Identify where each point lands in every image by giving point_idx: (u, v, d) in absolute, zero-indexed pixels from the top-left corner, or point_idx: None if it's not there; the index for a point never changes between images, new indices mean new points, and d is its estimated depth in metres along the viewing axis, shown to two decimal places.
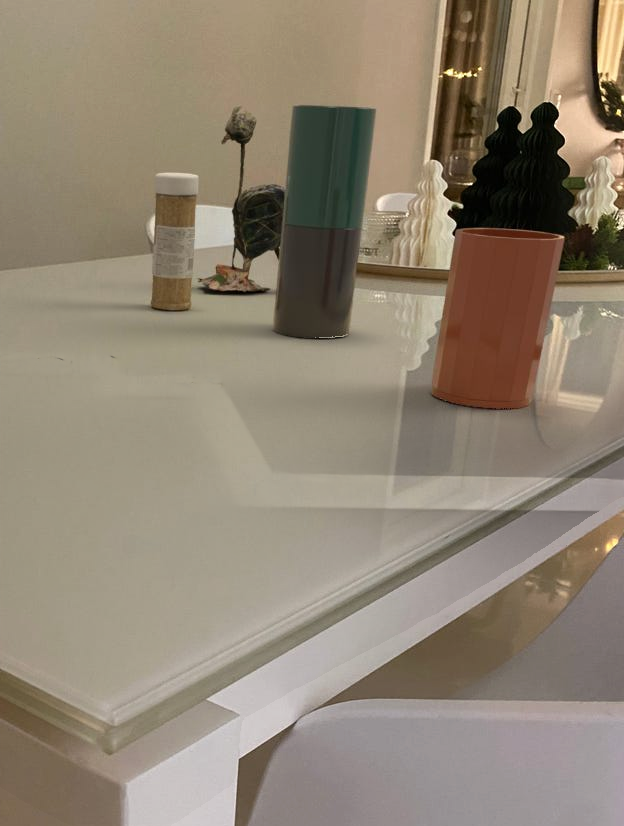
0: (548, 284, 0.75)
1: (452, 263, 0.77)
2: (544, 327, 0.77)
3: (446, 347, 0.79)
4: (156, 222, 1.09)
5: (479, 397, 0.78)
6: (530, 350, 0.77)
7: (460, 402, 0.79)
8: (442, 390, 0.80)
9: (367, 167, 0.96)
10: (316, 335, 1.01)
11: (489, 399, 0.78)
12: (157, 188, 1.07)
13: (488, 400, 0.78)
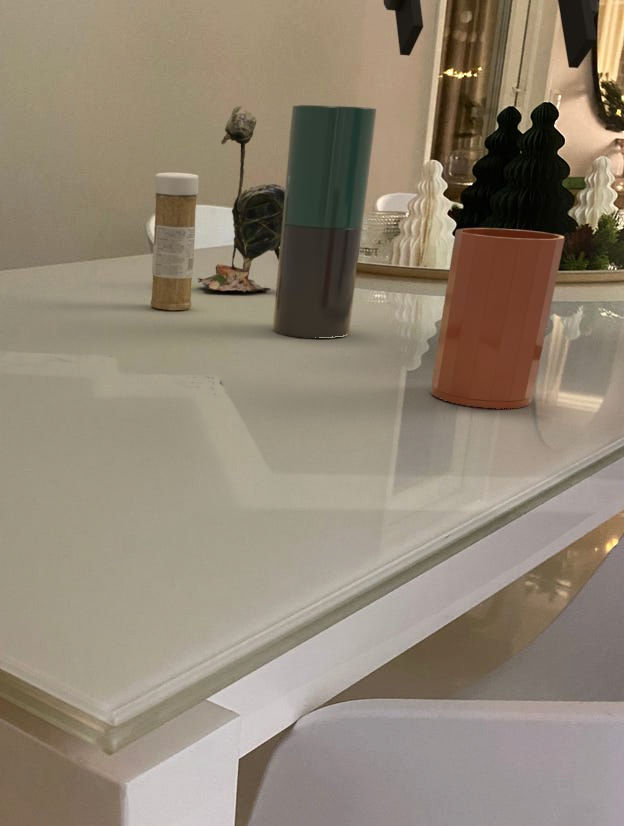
0: (548, 284, 0.75)
1: (452, 263, 0.77)
2: (544, 327, 0.77)
3: (446, 347, 0.79)
4: (156, 222, 1.09)
5: (479, 397, 0.78)
6: (530, 350, 0.77)
7: (460, 402, 0.79)
8: (442, 390, 0.80)
9: (367, 167, 0.96)
10: (316, 335, 1.01)
11: (489, 399, 0.78)
12: (157, 188, 1.07)
13: (488, 400, 0.78)
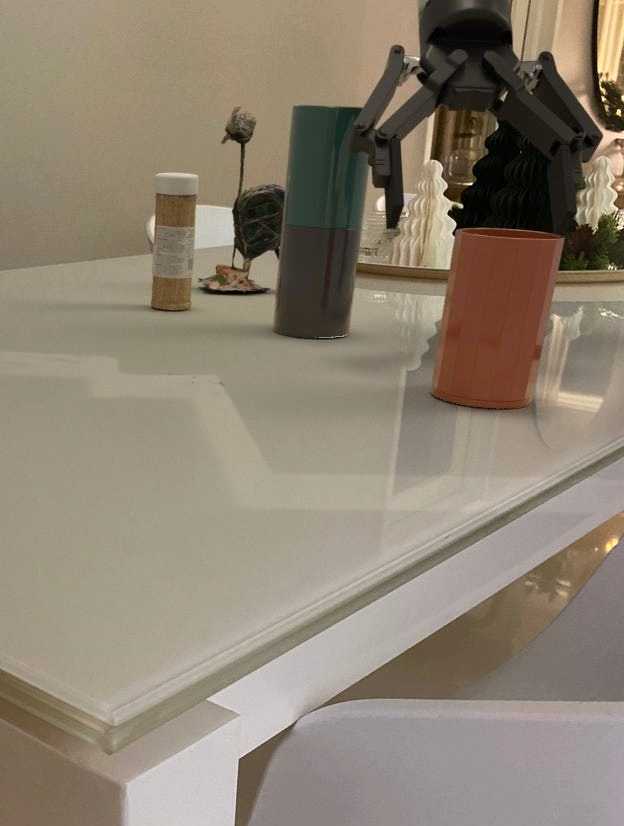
0: (548, 284, 0.75)
1: (452, 263, 0.77)
2: (544, 327, 0.77)
3: (446, 347, 0.79)
4: (156, 222, 1.09)
5: (479, 397, 0.78)
6: (530, 350, 0.77)
7: (460, 402, 0.79)
8: (442, 390, 0.80)
9: (367, 167, 0.96)
10: (316, 335, 1.01)
11: (489, 399, 0.78)
12: (157, 188, 1.07)
13: (488, 400, 0.78)
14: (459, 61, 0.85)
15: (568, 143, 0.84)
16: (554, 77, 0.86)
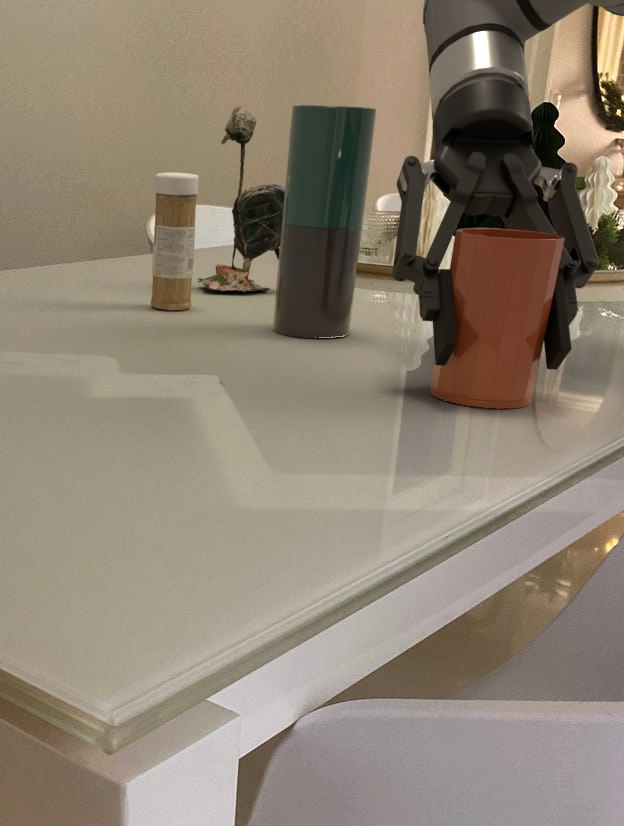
0: (548, 284, 0.75)
1: (452, 263, 0.77)
2: (544, 327, 0.77)
3: None
4: (156, 222, 1.09)
5: (479, 397, 0.78)
6: (530, 350, 0.77)
7: (460, 402, 0.79)
8: (442, 390, 0.80)
9: (367, 167, 0.96)
10: (316, 335, 1.01)
11: (489, 399, 0.78)
12: (157, 188, 1.07)
13: (488, 400, 0.78)
14: (480, 165, 0.80)
15: (560, 269, 0.78)
16: (570, 191, 0.80)
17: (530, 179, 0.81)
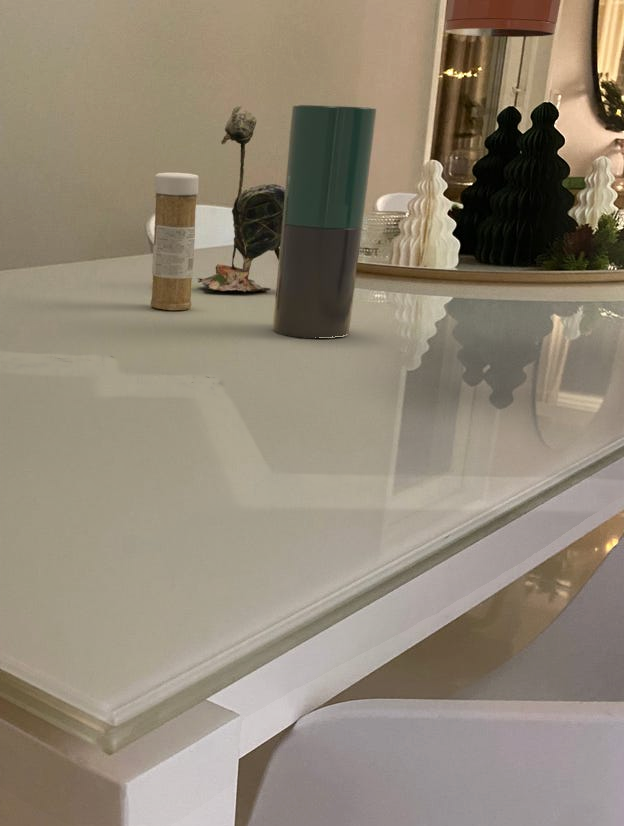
0: None
1: None
2: None
3: None
4: (156, 222, 1.09)
5: (499, 15, 0.71)
6: None
7: (478, 25, 0.72)
8: (458, 17, 0.73)
9: (367, 167, 0.96)
10: (316, 335, 1.01)
11: (510, 17, 0.71)
12: (157, 188, 1.07)
13: (509, 18, 0.71)
14: None
15: None
16: None
17: None
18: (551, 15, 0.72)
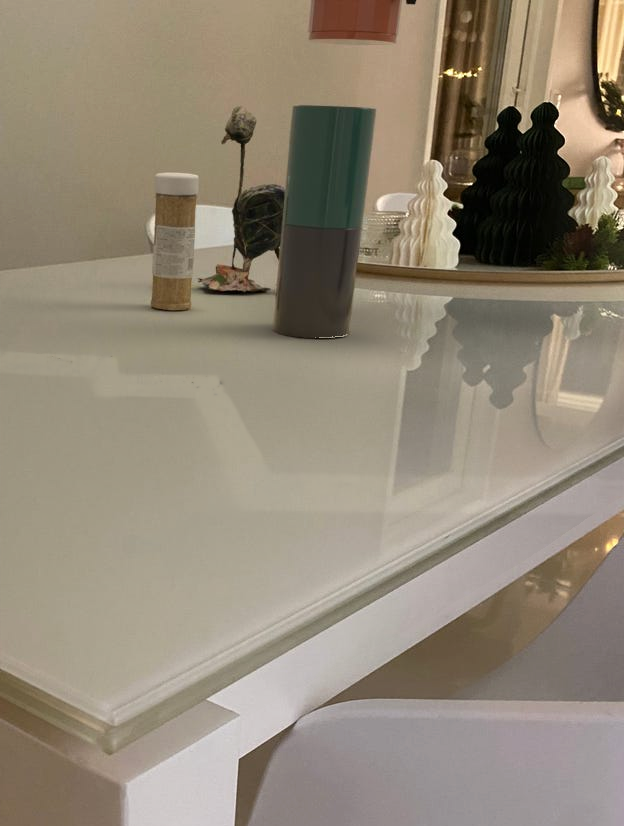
0: None
1: None
2: None
3: None
4: (156, 222, 1.09)
5: (346, 28, 0.88)
6: None
7: (330, 36, 0.89)
8: (315, 29, 0.90)
9: (367, 167, 0.96)
10: (316, 335, 1.01)
11: (354, 29, 0.88)
12: (157, 188, 1.07)
13: (354, 31, 0.88)
14: None
15: None
16: None
17: None
18: (389, 28, 0.89)
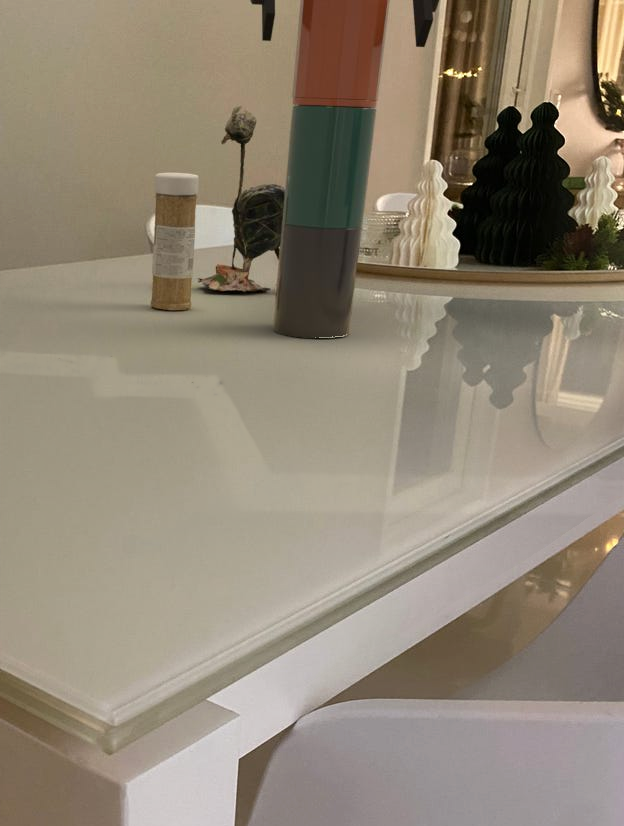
0: None
1: None
2: (381, 33, 0.91)
3: (300, 55, 0.92)
4: (156, 222, 1.09)
5: (327, 95, 0.92)
6: (368, 51, 0.90)
7: (312, 102, 0.92)
8: (298, 95, 0.93)
9: (367, 167, 0.96)
10: (316, 335, 1.01)
11: (336, 97, 0.92)
12: (157, 188, 1.07)
13: (335, 98, 0.92)
14: None
15: None
16: None
17: None
18: (369, 95, 0.92)
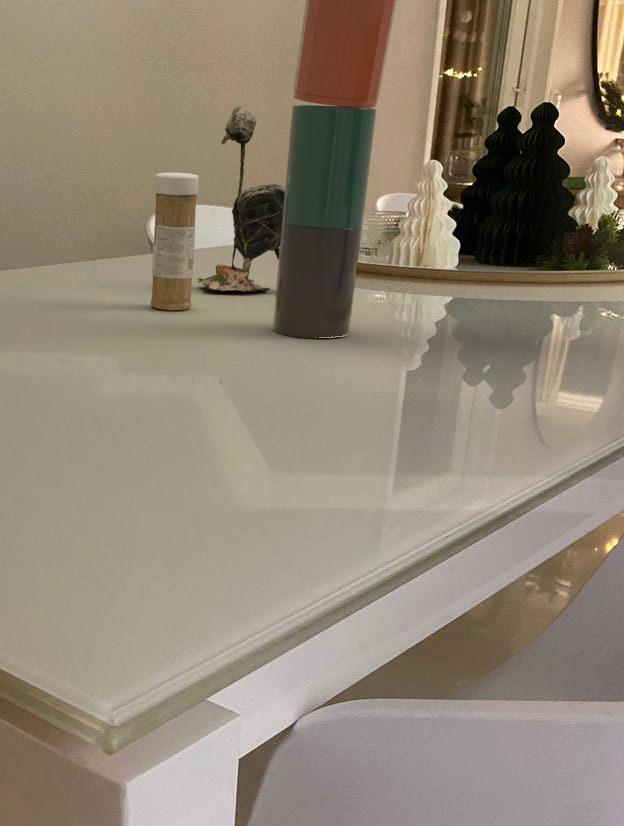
0: None
1: None
2: (386, 33, 0.90)
3: (304, 49, 0.92)
4: (156, 222, 1.09)
5: (328, 94, 0.92)
6: (372, 52, 0.90)
7: (313, 100, 0.92)
8: (300, 90, 0.93)
9: (367, 167, 0.96)
10: (316, 335, 1.01)
11: (336, 96, 0.91)
12: (157, 188, 1.07)
13: (336, 98, 0.92)
14: None
15: None
16: None
17: None
18: (370, 95, 0.92)
